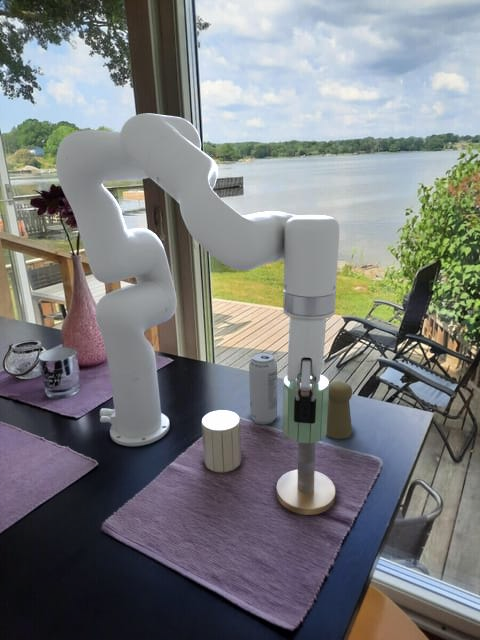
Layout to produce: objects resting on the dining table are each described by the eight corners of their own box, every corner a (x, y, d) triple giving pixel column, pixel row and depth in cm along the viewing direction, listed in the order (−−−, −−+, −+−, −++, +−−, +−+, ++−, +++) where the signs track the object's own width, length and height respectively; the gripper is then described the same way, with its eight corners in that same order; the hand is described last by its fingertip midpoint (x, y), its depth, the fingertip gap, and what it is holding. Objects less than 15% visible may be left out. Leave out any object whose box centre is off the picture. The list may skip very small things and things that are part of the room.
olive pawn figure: (352, 440, 90) (355, 392, 86) (322, 437, 91) (324, 390, 87) (351, 424, 95) (354, 378, 92) (323, 421, 96) (324, 376, 93)
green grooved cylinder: (281, 441, 69) (282, 390, 66) (284, 417, 76) (285, 370, 73) (326, 445, 68) (329, 393, 65) (326, 420, 74) (328, 372, 71)
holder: (273, 511, 72) (273, 437, 67) (279, 472, 81) (278, 404, 76) (336, 518, 70) (340, 442, 65) (334, 476, 79) (337, 408, 75)
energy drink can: (256, 409, 102) (255, 349, 98) (281, 414, 100) (281, 353, 95) (246, 422, 97) (244, 360, 92) (271, 428, 95) (270, 364, 90)
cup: (200, 470, 82) (197, 428, 79) (209, 448, 89) (206, 408, 86) (237, 473, 81) (235, 431, 78) (243, 450, 87) (242, 411, 85)
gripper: (287, 286, 73) (285, 382, 79) (278, 321, 57) (276, 438, 63) (333, 287, 72) (328, 384, 78) (337, 323, 56) (330, 442, 62)
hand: (305, 407), depth 70 cm, fingers closed on green grooved cylinder, 7 cm apart
